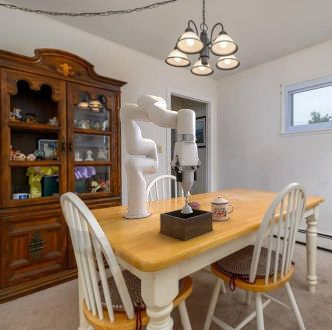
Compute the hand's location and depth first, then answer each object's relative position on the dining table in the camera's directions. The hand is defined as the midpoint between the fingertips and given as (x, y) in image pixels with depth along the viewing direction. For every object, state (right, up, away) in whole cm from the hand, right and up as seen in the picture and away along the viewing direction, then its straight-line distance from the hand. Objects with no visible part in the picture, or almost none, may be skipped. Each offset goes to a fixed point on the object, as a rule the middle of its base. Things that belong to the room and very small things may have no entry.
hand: (186, 181), depth 95 cm
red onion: (-3, -21, +29) cm, 36 cm away
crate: (0, -22, +1) cm, 22 cm away
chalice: (0, -13, 0) cm, 13 cm away
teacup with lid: (+14, -21, +21) cm, 33 cm away
